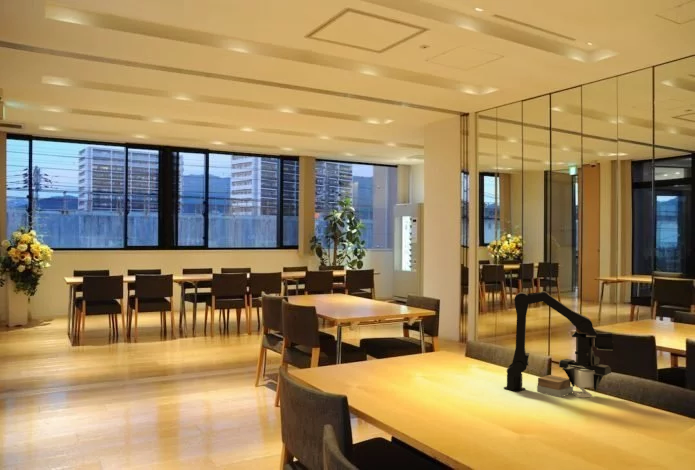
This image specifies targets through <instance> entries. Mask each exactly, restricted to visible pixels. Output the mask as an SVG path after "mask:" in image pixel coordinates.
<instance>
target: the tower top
mask: <svg viewBox="0 0 695 470" xmlns="http://www.w3.org/2000/svg"><path fill="white" fill-rule="evenodd" d="M537 386H543V387H547V388H552V389H556V390H560V389H564V388H567V387H570V386H571V382H570V380H569V378H567V377H562V376H557V375H553V374H548V375H544V376H540V377H538V378H537Z"/></svg>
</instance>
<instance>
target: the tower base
mask: <svg viewBox="0 0 695 470" xmlns="http://www.w3.org/2000/svg"><path fill="white" fill-rule="evenodd" d="M536 391H537V393H541V394H546V395H550V396H554V397H558V398H562V397H565V396H568V395H570V394H569V393H571V394H573V393H572V392H573V391H574V387H573V386H572V385H570V387H567V388H564V389H560V390H556V389H552V388H547V387H543V386H538V385H536ZM567 394H568V395H567ZM564 395H565V396H564Z"/></svg>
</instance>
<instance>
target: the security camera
mask: <svg viewBox="0 0 695 470" xmlns="http://www.w3.org/2000/svg"><path fill="white" fill-rule="evenodd" d="M593 374H596V373H595V372H594V371H593V370H588V369H582V368H576V369H575V370H574V384H575V386H576V387H577V388H579V390H573V393H572V395H574V396H575V397H576V398H585V397H592V393H590V392H589V391H587V390H586V389H585V388H592V389H594V376H593Z"/></svg>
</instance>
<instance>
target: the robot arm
mask: <svg viewBox="0 0 695 470" xmlns="http://www.w3.org/2000/svg"><path fill="white" fill-rule="evenodd" d="M513 302H514V307H515V312H516V313H515V314H516V326H515V327H516V330H515V331H516V332H515V333H516V334H515V351H514V354H513V357H512V362H511V363H510V364H509V365H508V366H507V369H506V373H507V374H506V386H504V387H503V390H509V391H513V392H520V391H521V392H522V391H524V390H526V387H523V372H524V371H526V370H527V367H528V366H529V365H530V360H529V357H530V352H526V335H527V333H526V332H527V331H526V330H527V329H526V327H527V313H528V309H529V306H530V305H529V304H536V303H537V304H538V303H544V304H545V305H547V306H548V307H550V308H551V309H552V310H554V311H556V312H557V313H558V314H560V315H561V316H563V317H564V318H566V319H567V320H568V321H569V322H570V323H571V324H572V325H573V326H574V327H575V328H576V329H577V330H578V331H579V332H578V331H577V330H575V331H574V332H573V333H572V334H571V337H572V338H576V351H574V354H575V355H576V361H575V360H574V359H569V358H564V359H560V360H559V363H558V366H559V368H562V370H563V371H564V372H565V374H566V375H567V377H568V379H569V380H570V385H571V386H572V387H573V388H574V387H575V386H576V385H575V384H574V370H575V369H588V370H593V371H594V372H595V373H596V374H593V376H594V388H593V389H594V391H595V392H596V391H598V388H599V386H600V384H601V381H602V378H604V376H607V375H608V374H611V373H612V368H611V366H610V365H606V364H600V357H599V356H597V355H595V351H593V347H594V348H596V350H597V351H613V350H614V340H613V339H614V338H613V333H612V332H597V330H596V329H595V328H594V326H593V321H592V320H591V319H590V318H589V317H588V316H586V315H583V314H581V313H579V312H577V311H575V310H572V309H571V308H569V307H568V306H567V305H565V304H563V302H561V301H559V300H557V298H555V297H554V296H552V295H551V294H549V293H548V292H547V291H540V292H539V291H538V292H530V293H526V292H523V291H520V292H518V293H517V294H516V295H515V297H514V301H513ZM587 334H588V335H587Z"/></svg>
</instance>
